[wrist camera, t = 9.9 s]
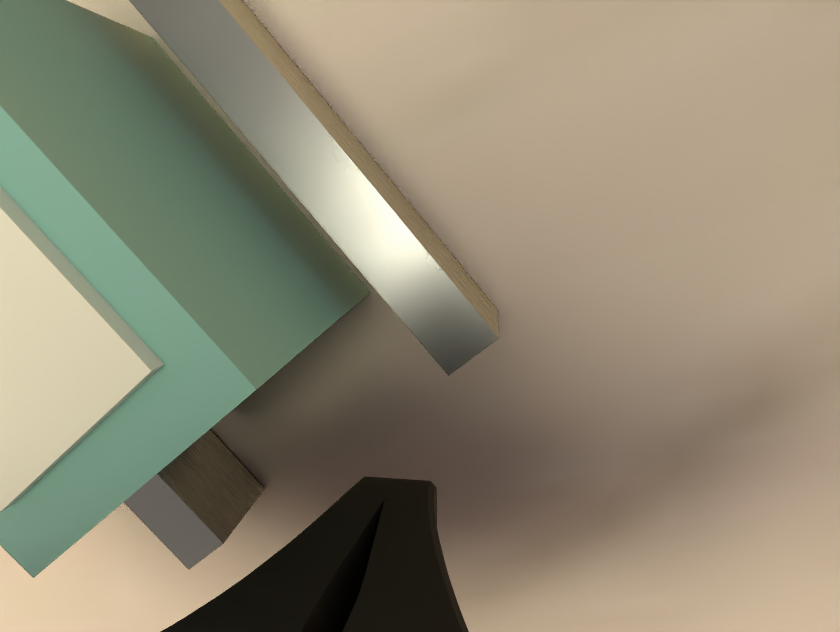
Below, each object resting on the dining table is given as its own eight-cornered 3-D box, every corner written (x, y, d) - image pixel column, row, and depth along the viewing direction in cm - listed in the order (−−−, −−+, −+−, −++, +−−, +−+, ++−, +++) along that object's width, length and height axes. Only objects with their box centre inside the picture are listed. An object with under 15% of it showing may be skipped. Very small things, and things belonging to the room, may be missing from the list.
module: (370, 291, 10) (246, 396, 5) (234, 407, 11) (18, 590, 6) (155, 39, 9) (-229, -127, 4) (32, 186, 10) (-392, 186, 5)
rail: (498, 310, 10) (500, 363, 7) (234, 512, 12) (148, 620, 9) (-102, -417, 8) (-429, -749, 5) (-291, -48, 10) (-605, -141, 7)
